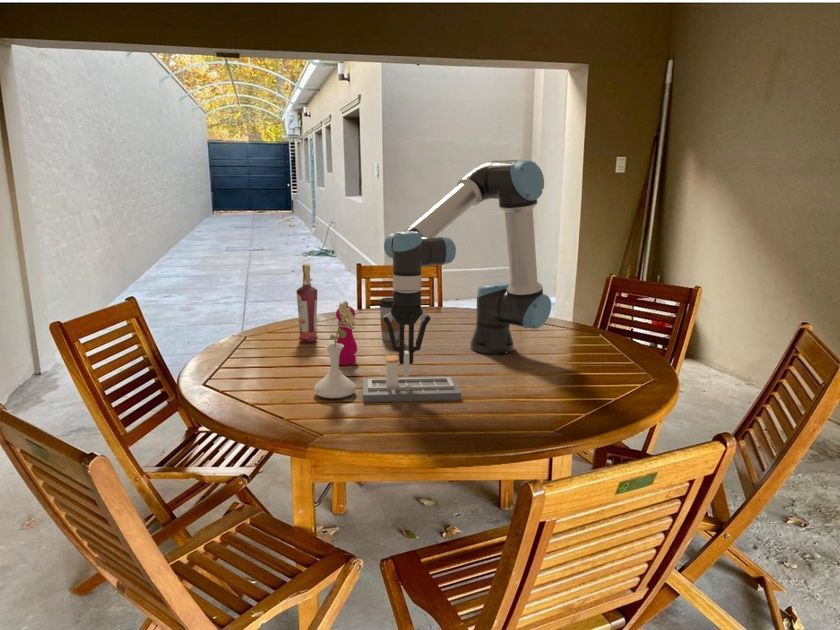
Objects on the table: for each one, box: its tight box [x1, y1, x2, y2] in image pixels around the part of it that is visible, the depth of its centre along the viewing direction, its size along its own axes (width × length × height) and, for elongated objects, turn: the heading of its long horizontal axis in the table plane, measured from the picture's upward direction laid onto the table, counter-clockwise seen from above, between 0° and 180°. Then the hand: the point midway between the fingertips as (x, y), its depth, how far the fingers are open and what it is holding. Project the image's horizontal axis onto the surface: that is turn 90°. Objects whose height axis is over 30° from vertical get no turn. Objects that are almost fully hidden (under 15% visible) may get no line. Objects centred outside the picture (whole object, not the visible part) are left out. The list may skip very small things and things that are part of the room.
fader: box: [385, 354, 399, 386], centre depth 157 cm, size 3×5×8 cm, turn 6°
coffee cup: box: [378, 297, 399, 342], centre depth 212 cm, size 8×8×15 cm
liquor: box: [296, 264, 319, 344], centre depth 206 cm, size 7×7×28 cm
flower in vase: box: [313, 302, 357, 399], centre depth 154 cm, size 13×11×25 cm
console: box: [362, 375, 462, 403], centre depth 159 cm, size 26×14×3 cm, turn 96°
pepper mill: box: [335, 300, 358, 366], centre depth 183 cm, size 7×7×20 cm
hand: (405, 374), depth 158 cm, fingers closed
